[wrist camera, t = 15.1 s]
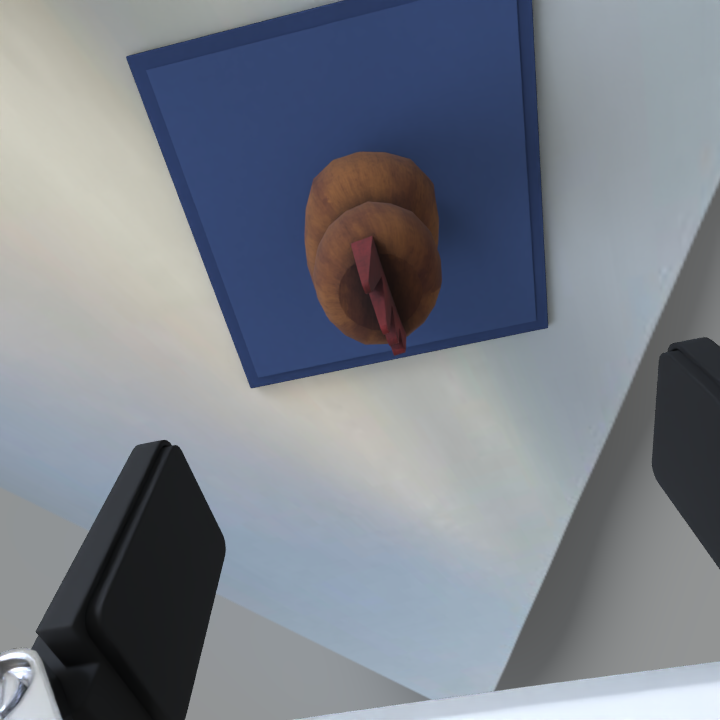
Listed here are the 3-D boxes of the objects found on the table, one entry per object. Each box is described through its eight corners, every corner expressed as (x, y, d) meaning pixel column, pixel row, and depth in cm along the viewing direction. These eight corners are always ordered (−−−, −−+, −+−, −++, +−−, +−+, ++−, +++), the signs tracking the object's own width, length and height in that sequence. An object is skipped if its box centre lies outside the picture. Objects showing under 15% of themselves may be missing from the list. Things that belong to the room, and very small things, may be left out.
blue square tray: (527, -47, 23) (530, -48, 23) (546, 325, 32) (549, 328, 31) (128, 56, 25) (124, 56, 24) (251, 385, 33) (250, 389, 33)
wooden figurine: (308, 136, 26) (276, 222, 13) (428, 139, 26) (516, 227, 13) (310, 271, 29) (286, 447, 16) (417, 273, 30) (477, 448, 16)
